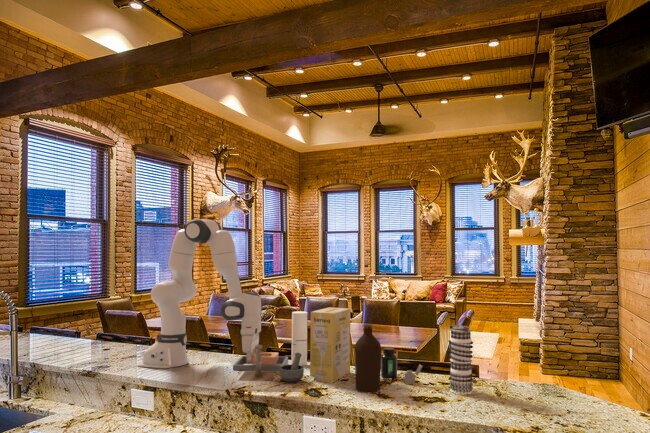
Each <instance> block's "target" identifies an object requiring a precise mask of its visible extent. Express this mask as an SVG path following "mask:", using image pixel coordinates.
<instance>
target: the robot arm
mask: <svg viewBox="0 0 650 433" xmlns="http://www.w3.org/2000/svg"><path fill="white" fill-rule="evenodd" d="M198 244H208V246H209V247H210V248H209V249H210V252H211V259H212V263H213V266H214V269H215V271H216V272H218V273H219V274H220V275H221V276H223V278H224V279H225V282H226V285H227V286H226V287H227V290H228V295H229V299H228V300H226V301H224V302H223V304H222V305H221V306H220V314H221V316H222V318H223V319H224V320H226V321H230V322H231V321H232V322H233V321H236V320H241V328H240V335H241V348H242V352H243V353H244V354H245V353H246V355H247V356H248V357H247V359H248V360H252V354H256V349H255V345H260V344H259V342H260V333H261V332H262V319H261V315H262V299H261V296H260V294H259V293H257V292H255V291H244V292H243V288H242V283H241V279H240V274H239V268H238V267H239V266H238V258H237V252H236V247H235V243H234V240H233V237H232V234H231V233H230V232H229V231H228V230H225V229H222V226H221V224H220V223H219V222H218V221H216V220H214V219H208V218H201V219H199V218H194V219H192V220H190V221H188V222H187V223H186V224H185V226H184V228H183V229H179V230H177V232H176V234H175V237H174V238H173V241H172V245H171V249H170V253H169V258H168V262H167V268H168V269H169V271H171V280H164V281H160V282H158V283H155V285H153V286H152V288H151V291H150V298H151V300H152V302H153V303H154V304H155V305H156V306H157V308H158V310H159V314H160V323H161V324H160V325H161V326H160V327H161V328H160V332H159V334H157V335H156V336H155V340H156V342H155V343H153V344H151V345H150V346H149V347H148V348H147V349H146V350H145V351H144V353H143V355H142V356H143V357H142V359H141V360H139V361H138V362H137V367H140V368H141V367H142V368H143V367H144V368H153V369H155V368H156V369H170V368H174V367H175V368H176V367H180V366H184V365H187V364H189V359H188V356H187V355H188V354H187V349H186V348H187V346H186V345H187V332H186V324H187V323H186V322H187V317H186V314H185V313H183V312H182V310H181V306H180V304H181V303H186V302H189V301H190V300H192V299H194V298H195V296H196V295H197V291H198V290H197V285H196V284H195V282H194V281H193V274H192V271H193V266H194V265H193V264H194V260H195V259H194V258H195V256H196V254H195V253H196V249H197V246H198Z"/></svg>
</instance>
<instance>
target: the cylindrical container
mask: <svg viewBox="0 0 650 433" xmlns="http://www.w3.org/2000/svg"><path fill="white" fill-rule="evenodd" d="M295 353H300V354H302V356H301V357H300V362H299V365H300V366H303V367H304V366H307V365H308V360H307V359H308V311H303V310H302V311H301V310H299V311H297V310H296V311H292V312H291V362H290V363H291V364H290V365H292V364H293V361H294V358H295Z"/></svg>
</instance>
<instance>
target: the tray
mask: <svg viewBox="0 0 650 433" xmlns="http://www.w3.org/2000/svg"><path fill="white" fill-rule="evenodd" d="M284 365H289V357H288V356H279V355H278V360H277V362H276V364H261V372H280V367H281V366H284ZM232 370H233V371H255V364H253V362H246V355H241V356H240V357H239V358H238V359H237V361H235V362H234V364H233V365H232Z"/></svg>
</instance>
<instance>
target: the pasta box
mask: <svg viewBox="0 0 650 433" xmlns="http://www.w3.org/2000/svg"><path fill="white" fill-rule="evenodd" d="M309 341H310V345H309V346H310V349H309V351H310V354H309V355H310V357H309V359H310V361H309V363H310V364H309V365H310V366H309V376H310V377H313V381H316V382H323V383H330V382H332V383H331V384H333V382H334V383H336V382H337V381H339V380H340V379H342V378H344V377H345V376H347V375H348V373H349V374H350V373H351V308H345V307H334V306H333V307H330V306H329V307H325V308H321V309H317V310H313V311H310V340H309ZM346 374H347V375H346ZM343 376H344V377H343ZM341 377H342V378H341ZM338 379H339V380H338ZM336 380H337V381H336Z"/></svg>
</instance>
